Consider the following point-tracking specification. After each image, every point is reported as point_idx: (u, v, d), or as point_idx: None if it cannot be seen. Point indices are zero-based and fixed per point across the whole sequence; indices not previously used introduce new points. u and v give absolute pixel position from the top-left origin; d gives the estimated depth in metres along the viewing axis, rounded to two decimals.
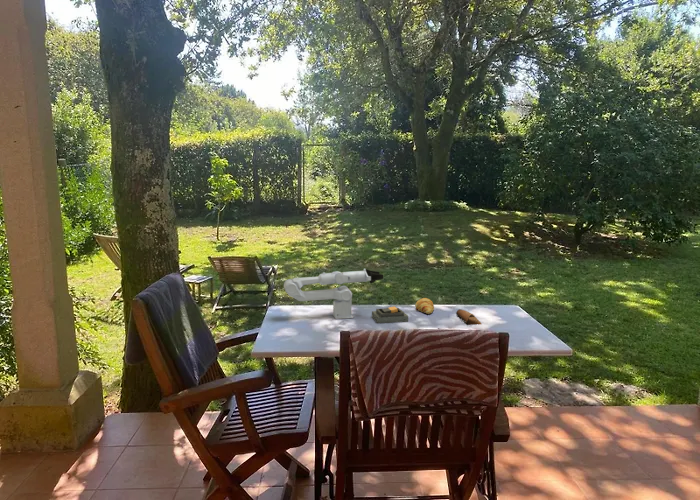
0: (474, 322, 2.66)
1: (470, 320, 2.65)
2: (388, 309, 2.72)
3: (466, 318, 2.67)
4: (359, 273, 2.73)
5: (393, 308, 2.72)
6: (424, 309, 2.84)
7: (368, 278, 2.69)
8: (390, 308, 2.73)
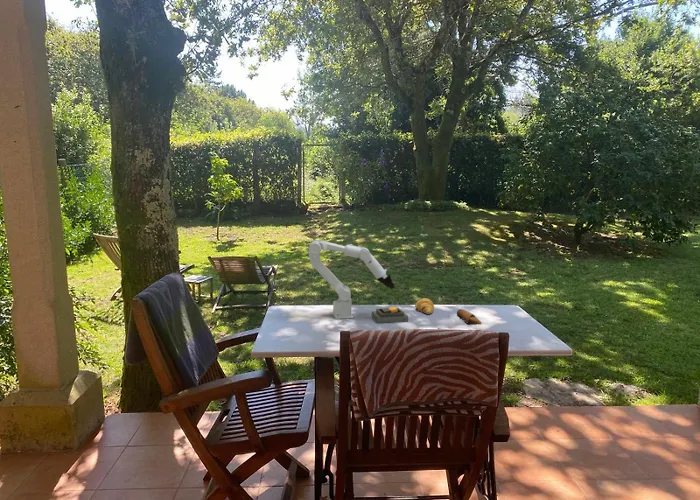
0: (475, 322, 2.66)
1: (471, 320, 2.65)
2: (388, 309, 2.72)
3: (467, 318, 2.67)
4: (380, 266, 2.72)
5: (393, 308, 2.72)
6: (424, 309, 2.84)
7: (384, 275, 2.67)
8: (390, 308, 2.73)
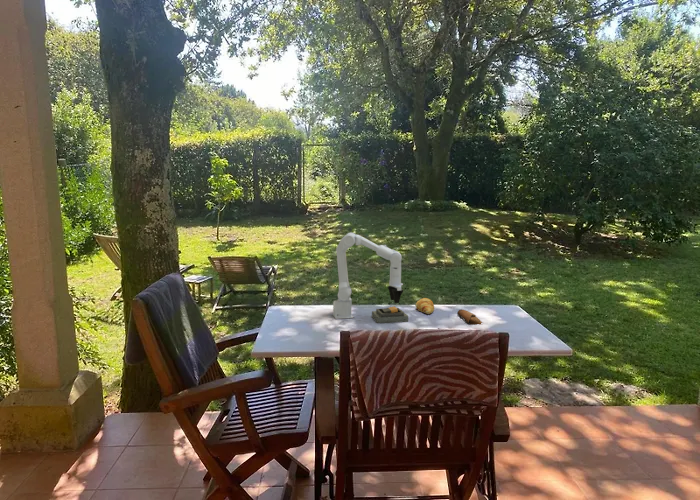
0: (476, 322, 2.66)
1: (472, 320, 2.65)
2: (388, 309, 2.72)
3: (468, 318, 2.67)
4: (400, 278, 2.69)
5: (393, 308, 2.72)
6: (424, 309, 2.84)
7: (399, 288, 2.64)
8: (390, 308, 2.73)
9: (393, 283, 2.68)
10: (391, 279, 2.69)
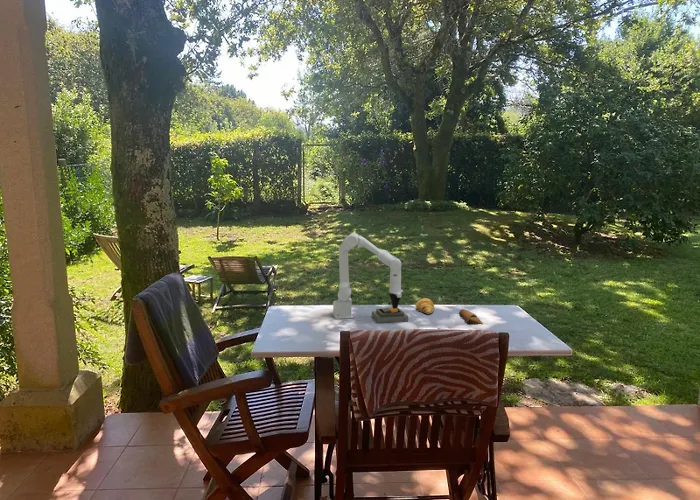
0: (475, 322, 2.65)
1: (471, 320, 2.65)
2: (388, 309, 2.72)
3: (468, 318, 2.67)
4: (400, 285, 2.70)
5: (393, 308, 2.72)
6: (424, 309, 2.84)
7: (399, 295, 2.65)
8: (390, 308, 2.73)
9: (393, 290, 2.69)
10: (391, 286, 2.69)
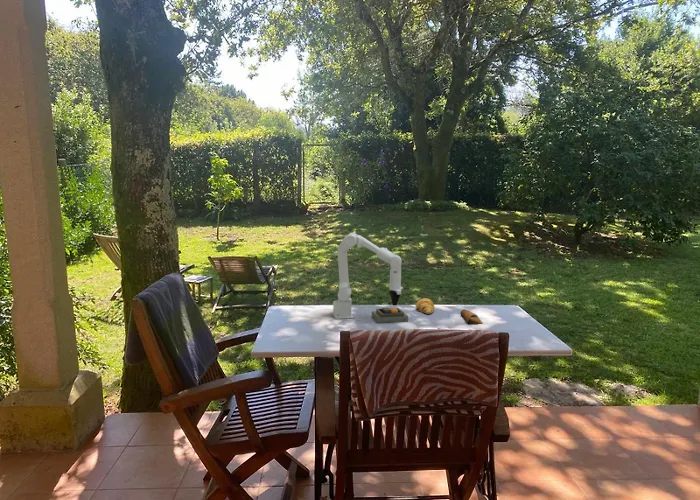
0: (475, 322, 2.65)
1: (471, 320, 2.65)
2: (389, 309, 2.72)
3: (467, 318, 2.67)
4: (400, 282, 2.69)
5: (394, 309, 2.72)
6: (424, 309, 2.84)
7: (399, 291, 2.64)
8: (391, 308, 2.73)
9: (393, 287, 2.68)
10: (391, 283, 2.69)
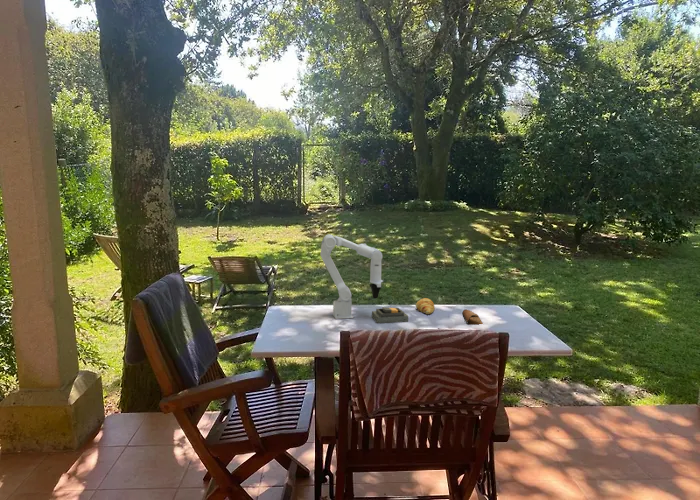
0: (475, 322, 2.65)
1: (471, 320, 2.65)
2: (389, 309, 2.72)
3: (467, 318, 2.67)
4: (380, 275, 2.74)
5: (394, 309, 2.72)
6: (424, 309, 2.84)
7: (379, 284, 2.69)
8: (391, 308, 2.73)
9: (373, 280, 2.73)
10: (371, 276, 2.73)
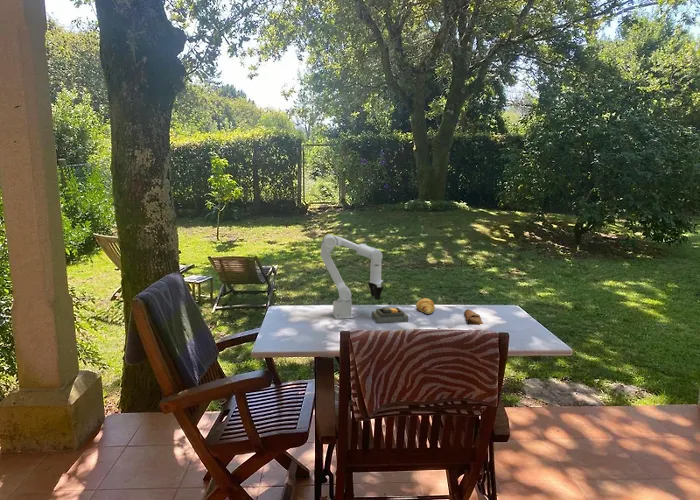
0: (475, 322, 2.65)
1: (471, 320, 2.65)
2: (389, 309, 2.72)
3: (467, 318, 2.67)
4: (380, 275, 2.74)
5: (394, 309, 2.72)
6: (424, 309, 2.84)
7: (379, 284, 2.69)
8: (391, 308, 2.73)
9: (373, 280, 2.73)
10: (371, 276, 2.73)
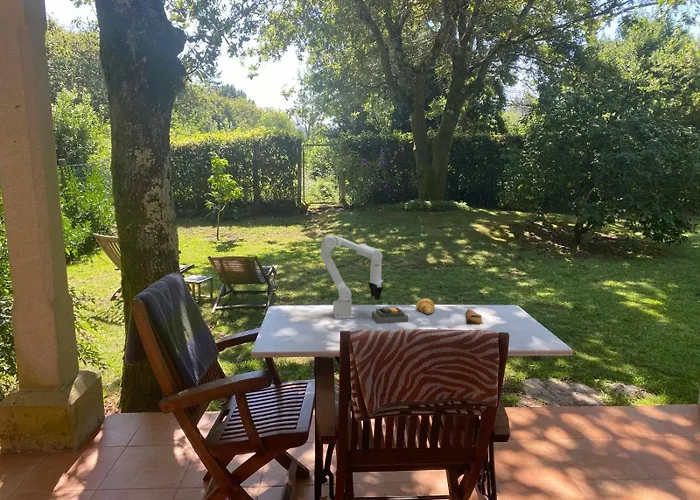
0: (475, 322, 2.65)
1: (470, 320, 2.65)
2: (389, 309, 2.72)
3: (467, 318, 2.67)
4: (380, 275, 2.74)
5: (394, 309, 2.72)
6: (424, 309, 2.84)
7: (379, 284, 2.69)
8: (391, 308, 2.73)
9: (373, 280, 2.73)
10: (371, 276, 2.73)
